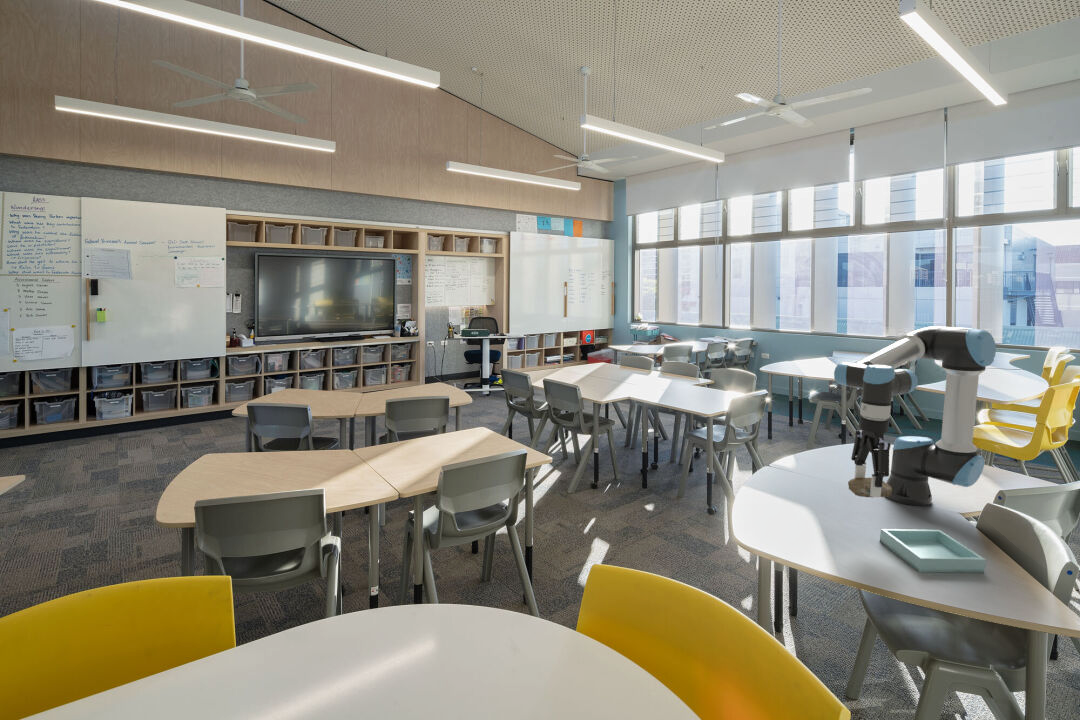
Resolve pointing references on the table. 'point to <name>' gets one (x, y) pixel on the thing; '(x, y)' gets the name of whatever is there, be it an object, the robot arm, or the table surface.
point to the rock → (867, 487)
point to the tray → (932, 551)
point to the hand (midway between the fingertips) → (866, 490)
